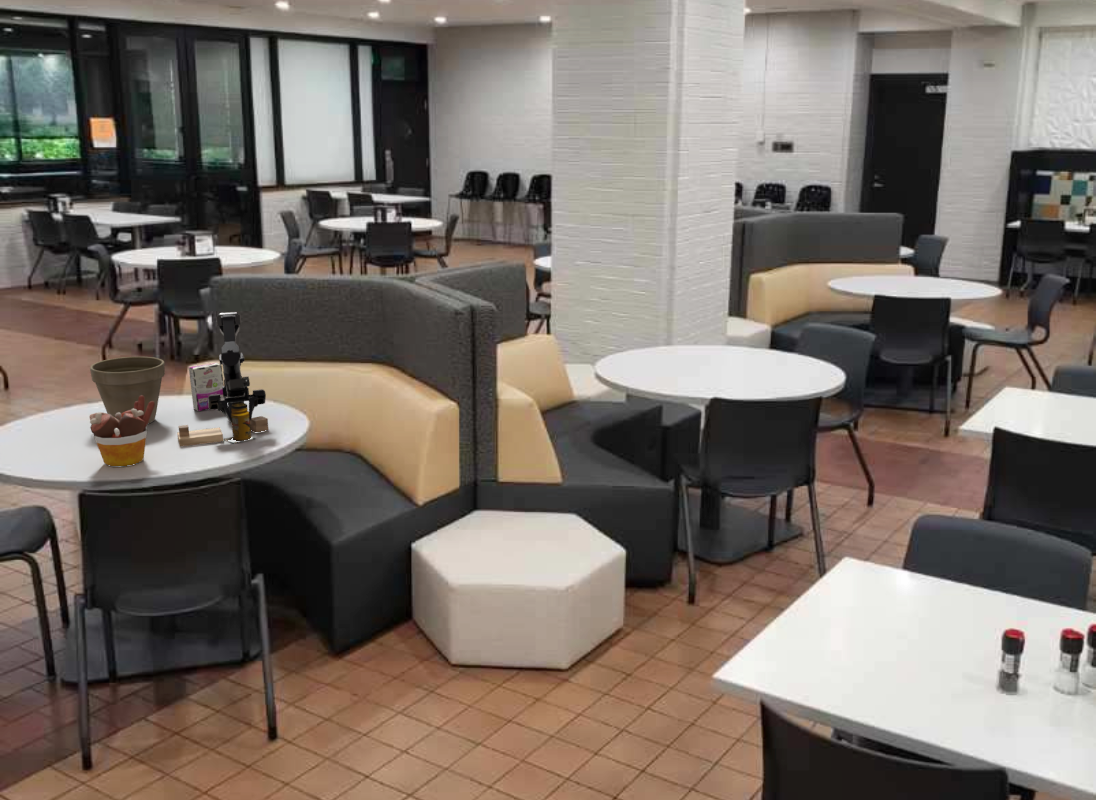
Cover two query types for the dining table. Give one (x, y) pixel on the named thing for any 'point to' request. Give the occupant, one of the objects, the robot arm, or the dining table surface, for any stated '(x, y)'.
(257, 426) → the block
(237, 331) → the robot arm
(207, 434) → the foundation
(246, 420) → the condiment
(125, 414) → the bucket of meat
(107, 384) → the plant pot
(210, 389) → the candy bar box
